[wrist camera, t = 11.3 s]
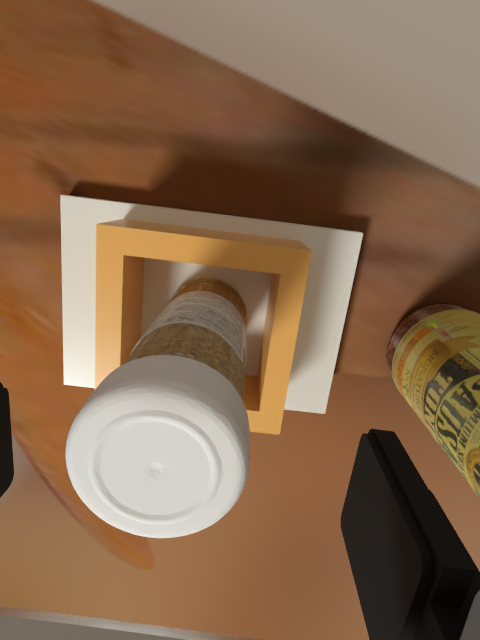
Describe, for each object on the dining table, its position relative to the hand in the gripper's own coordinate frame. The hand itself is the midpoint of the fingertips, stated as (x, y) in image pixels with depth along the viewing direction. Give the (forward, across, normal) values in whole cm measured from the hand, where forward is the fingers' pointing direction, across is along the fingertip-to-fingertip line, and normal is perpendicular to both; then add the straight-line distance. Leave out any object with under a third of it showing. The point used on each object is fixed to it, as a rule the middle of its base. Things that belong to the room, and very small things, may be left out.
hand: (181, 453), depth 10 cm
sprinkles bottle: (+13, +1, 0) cm, 13 cm away
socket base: (+14, +1, 0) cm, 14 cm away
